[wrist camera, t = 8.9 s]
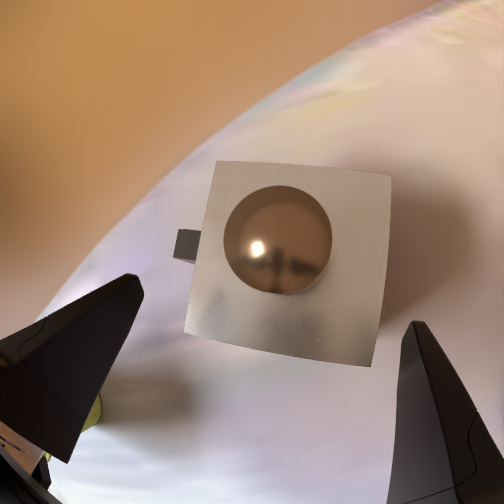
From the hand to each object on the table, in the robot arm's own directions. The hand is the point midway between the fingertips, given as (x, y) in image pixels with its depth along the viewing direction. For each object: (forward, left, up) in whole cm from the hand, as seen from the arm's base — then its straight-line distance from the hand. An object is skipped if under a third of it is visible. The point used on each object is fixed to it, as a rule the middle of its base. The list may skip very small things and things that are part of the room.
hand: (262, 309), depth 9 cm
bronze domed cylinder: (+2, +1, -10) cm, 10 cm away
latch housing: (+2, +2, -11) cm, 11 cm away
